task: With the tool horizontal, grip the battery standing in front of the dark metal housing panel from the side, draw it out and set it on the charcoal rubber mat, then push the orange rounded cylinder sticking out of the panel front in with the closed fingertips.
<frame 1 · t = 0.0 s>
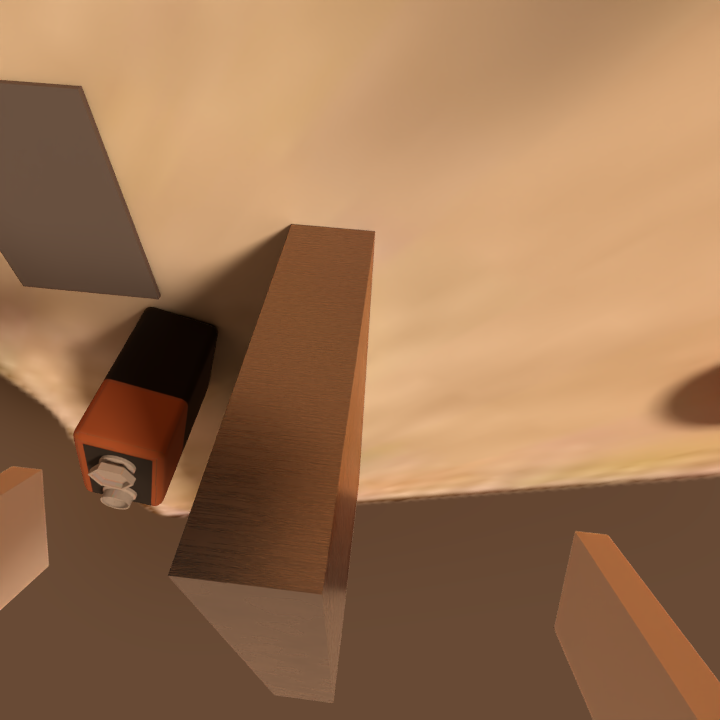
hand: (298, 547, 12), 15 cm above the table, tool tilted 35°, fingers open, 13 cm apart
housing panel: (335, 392, 32), on the table
mat: (48, 202, 23), on the table
battery: (182, 345, 31), on the table
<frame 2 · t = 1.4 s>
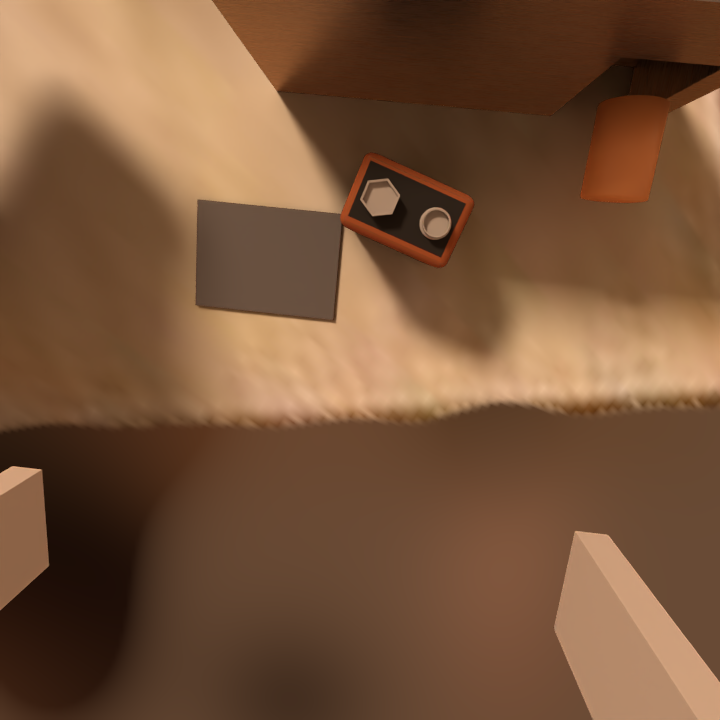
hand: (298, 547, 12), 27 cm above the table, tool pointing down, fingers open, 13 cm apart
housing panel: (462, 76, 33), on the table
orange rounded cylinder: (622, 153, 27), point 7 cm above the table, slide at 0.0 cm
mat: (267, 260, 37), on the table
battery: (402, 220, 36), on the table
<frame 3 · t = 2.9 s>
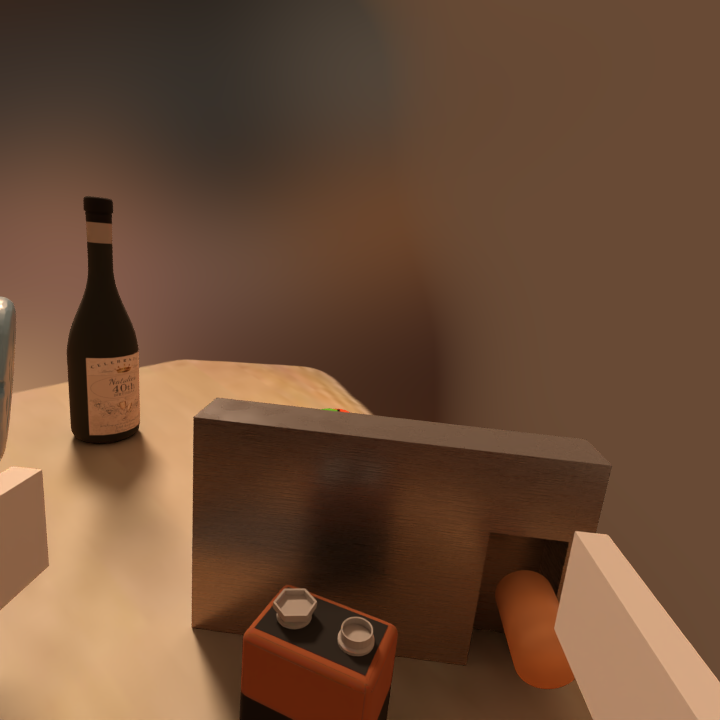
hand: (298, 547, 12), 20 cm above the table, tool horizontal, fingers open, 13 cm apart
housing panel: (374, 630, 35), on the table
orange rounded cylinder: (534, 625, 28), point 7 cm above the table, slide at 0.0 cm
wine bottle: (106, 435, 63), on the table
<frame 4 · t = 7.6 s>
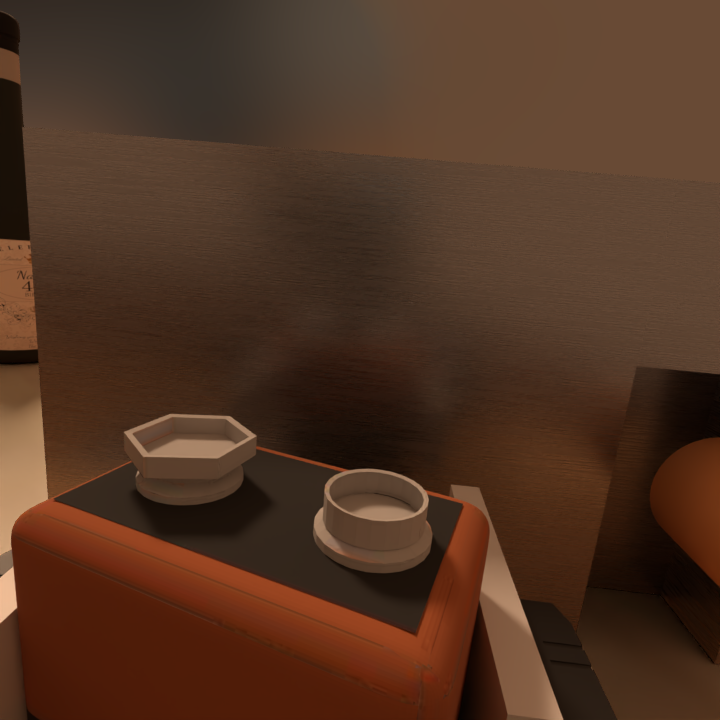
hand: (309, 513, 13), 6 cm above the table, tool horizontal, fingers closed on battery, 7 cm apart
housing panel: (394, 586, 19), on the table
wine bottle: (23, 357, 47), on the table
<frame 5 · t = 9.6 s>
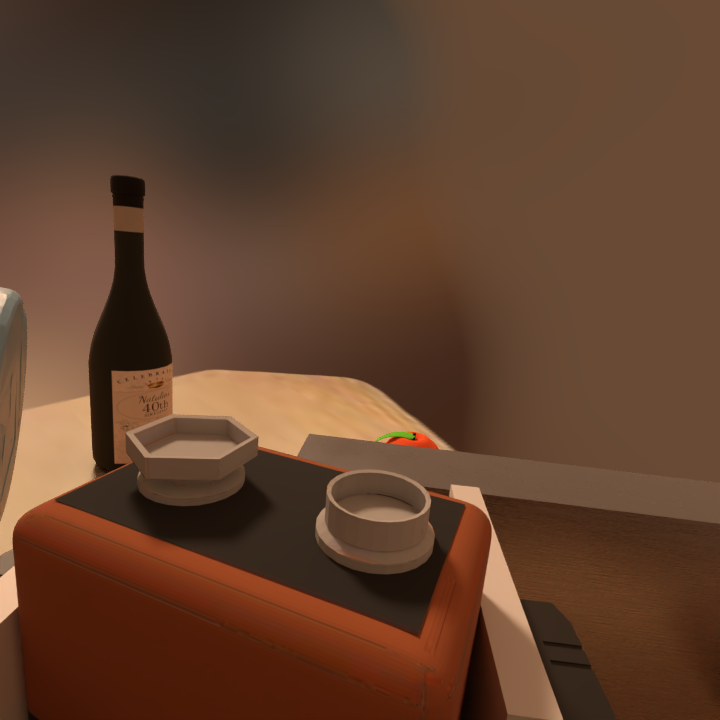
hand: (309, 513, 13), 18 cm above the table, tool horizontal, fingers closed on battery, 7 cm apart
wine bottle: (134, 461, 53), on the table
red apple: (401, 496, 51), on the table
when the fingers open (8 cm above the table, at t = 12.1 s): battery drops 1 cm, resting on mat.
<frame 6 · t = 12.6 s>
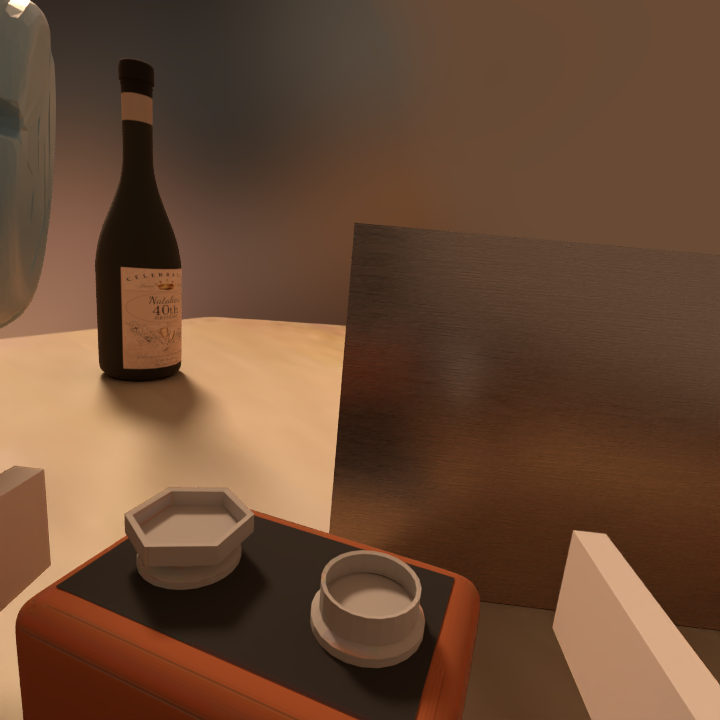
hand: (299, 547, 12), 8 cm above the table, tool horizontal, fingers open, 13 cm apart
housing panel: (593, 586, 23), on the table
wine bottle: (141, 374, 51), on the table
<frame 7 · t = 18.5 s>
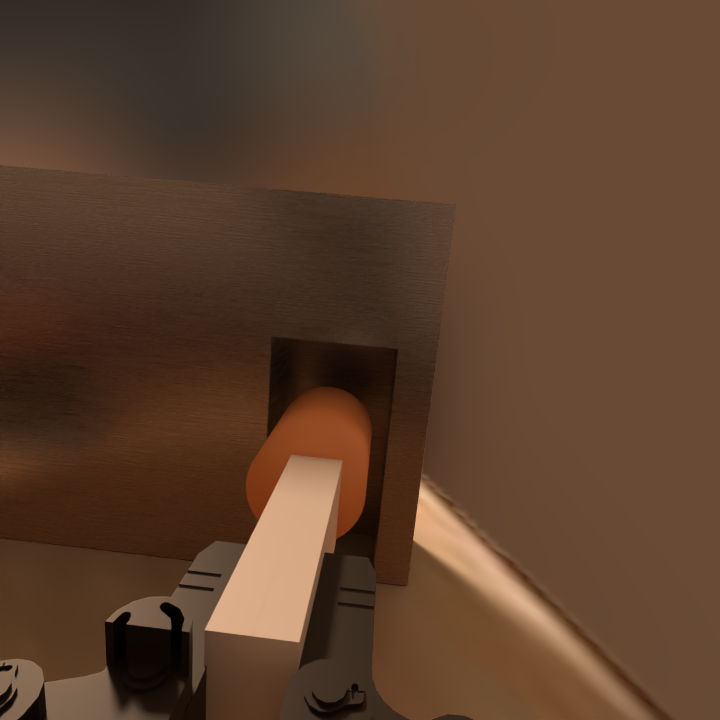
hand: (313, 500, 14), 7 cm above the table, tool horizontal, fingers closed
housing panel: (141, 526, 23), on the table
orange rounded cylinder: (317, 456, 17), point 7 cm above the table, slide at 0.6 cm, touching gripper
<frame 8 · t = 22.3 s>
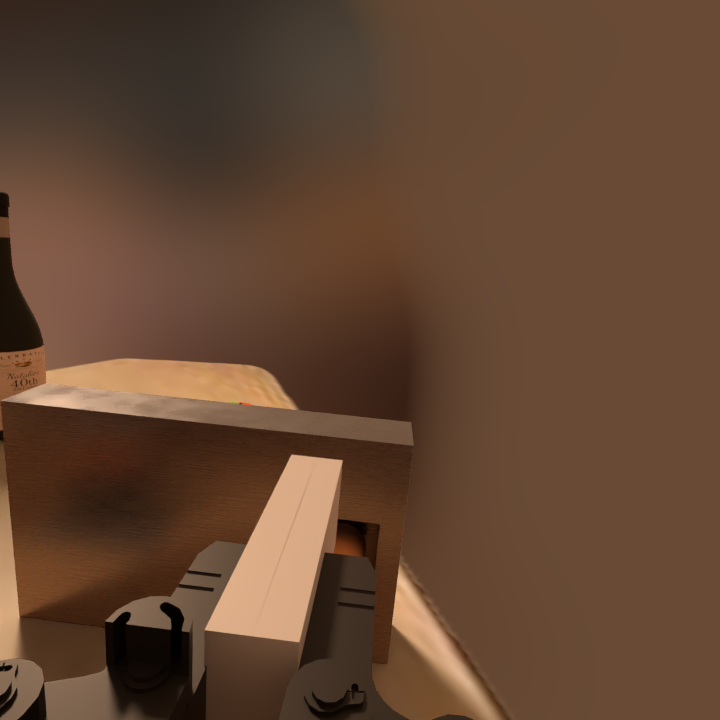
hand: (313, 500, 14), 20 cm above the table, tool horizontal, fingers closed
housing panel: (210, 617, 35), on the table
orange rounded cylinder: (336, 569, 31), point 7 cm above the table, slide at 3.3 cm
wine bottle: (12, 430, 63), on the table
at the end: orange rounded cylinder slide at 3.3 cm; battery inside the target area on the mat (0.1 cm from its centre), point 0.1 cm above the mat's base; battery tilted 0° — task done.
